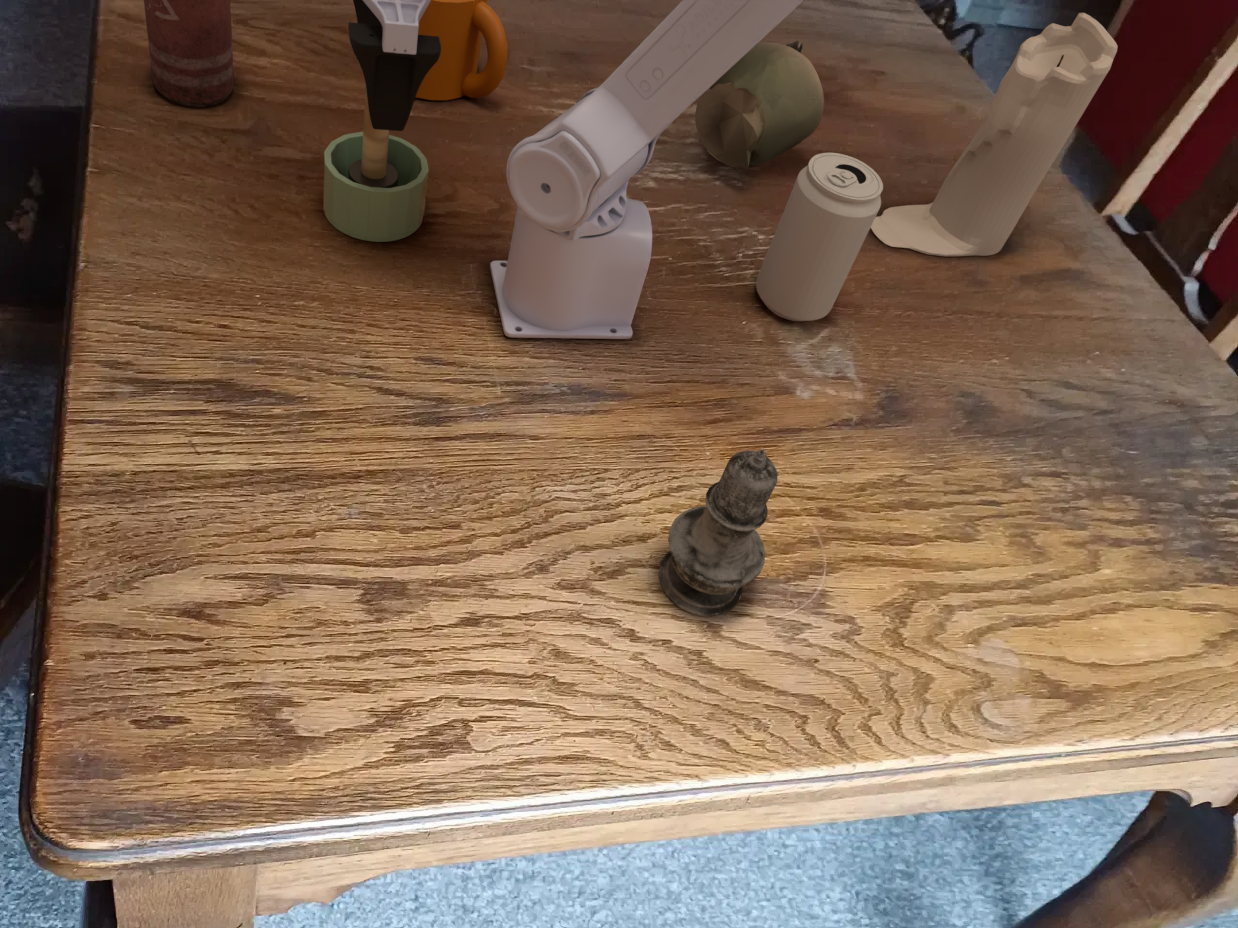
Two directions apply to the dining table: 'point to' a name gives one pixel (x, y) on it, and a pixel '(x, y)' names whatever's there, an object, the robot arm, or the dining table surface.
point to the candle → (1009, 145)
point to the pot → (374, 191)
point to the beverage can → (819, 236)
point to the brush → (373, 157)
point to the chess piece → (720, 539)
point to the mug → (463, 49)
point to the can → (191, 50)
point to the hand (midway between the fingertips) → (383, 96)
